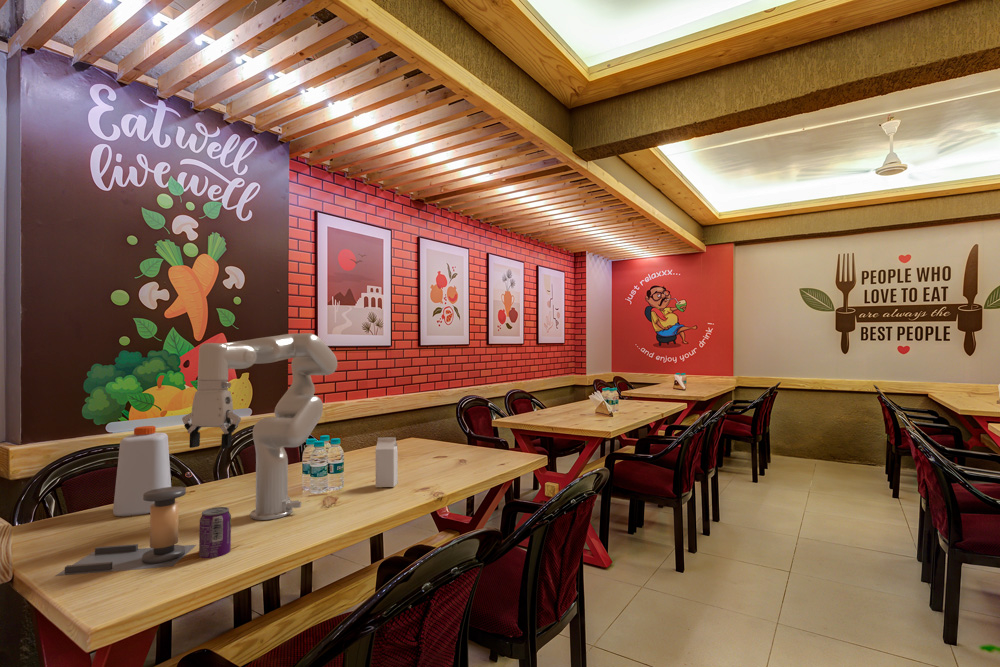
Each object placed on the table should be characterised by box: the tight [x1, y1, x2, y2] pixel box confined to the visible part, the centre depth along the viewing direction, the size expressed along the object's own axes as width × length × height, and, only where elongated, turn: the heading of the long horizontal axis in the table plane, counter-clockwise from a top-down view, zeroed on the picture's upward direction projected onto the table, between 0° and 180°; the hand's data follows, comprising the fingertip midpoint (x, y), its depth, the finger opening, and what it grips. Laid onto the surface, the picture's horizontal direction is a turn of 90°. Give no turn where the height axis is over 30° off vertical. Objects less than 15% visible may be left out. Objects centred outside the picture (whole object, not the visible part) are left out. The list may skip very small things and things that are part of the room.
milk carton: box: [375, 436, 399, 488], centre depth 197 cm, size 7×7×19 cm
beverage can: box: [198, 506, 232, 559], centre depth 129 cm, size 7×7×12 cm
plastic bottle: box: [112, 425, 172, 517], centre depth 170 cm, size 15×15×28 cm
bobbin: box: [142, 486, 187, 564], centre depth 127 cm, size 9×9×16 cm
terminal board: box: [54, 543, 197, 577], centre depth 125 cm, size 25×14×3 cm, turn 100°
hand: (210, 447), depth 140 cm, fingers open, 9 cm apart
